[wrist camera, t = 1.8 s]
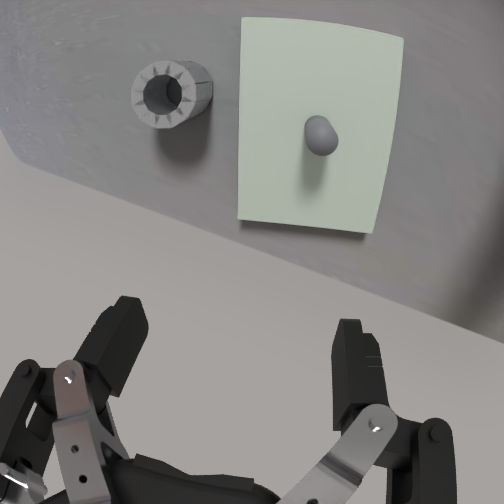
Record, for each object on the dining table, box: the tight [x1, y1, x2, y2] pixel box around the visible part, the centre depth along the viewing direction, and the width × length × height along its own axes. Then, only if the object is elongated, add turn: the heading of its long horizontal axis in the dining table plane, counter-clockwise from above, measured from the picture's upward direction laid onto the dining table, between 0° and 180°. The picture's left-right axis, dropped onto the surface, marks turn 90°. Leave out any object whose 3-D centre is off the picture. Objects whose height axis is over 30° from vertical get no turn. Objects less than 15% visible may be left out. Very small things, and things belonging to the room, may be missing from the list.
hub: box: [131, 60, 212, 129], centre depth 23 cm, size 6×6×5 cm
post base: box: [238, 17, 404, 234], centre depth 23 cm, size 20×14×7 cm
